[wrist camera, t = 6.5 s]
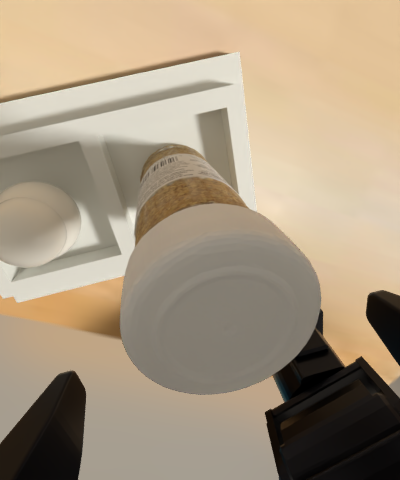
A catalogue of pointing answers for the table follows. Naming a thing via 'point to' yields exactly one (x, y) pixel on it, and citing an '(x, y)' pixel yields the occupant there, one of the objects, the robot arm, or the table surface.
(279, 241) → the sprinkles bottle
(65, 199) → the egg
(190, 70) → the tray
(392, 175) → the table surface
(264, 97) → the table surface
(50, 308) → the table surface
